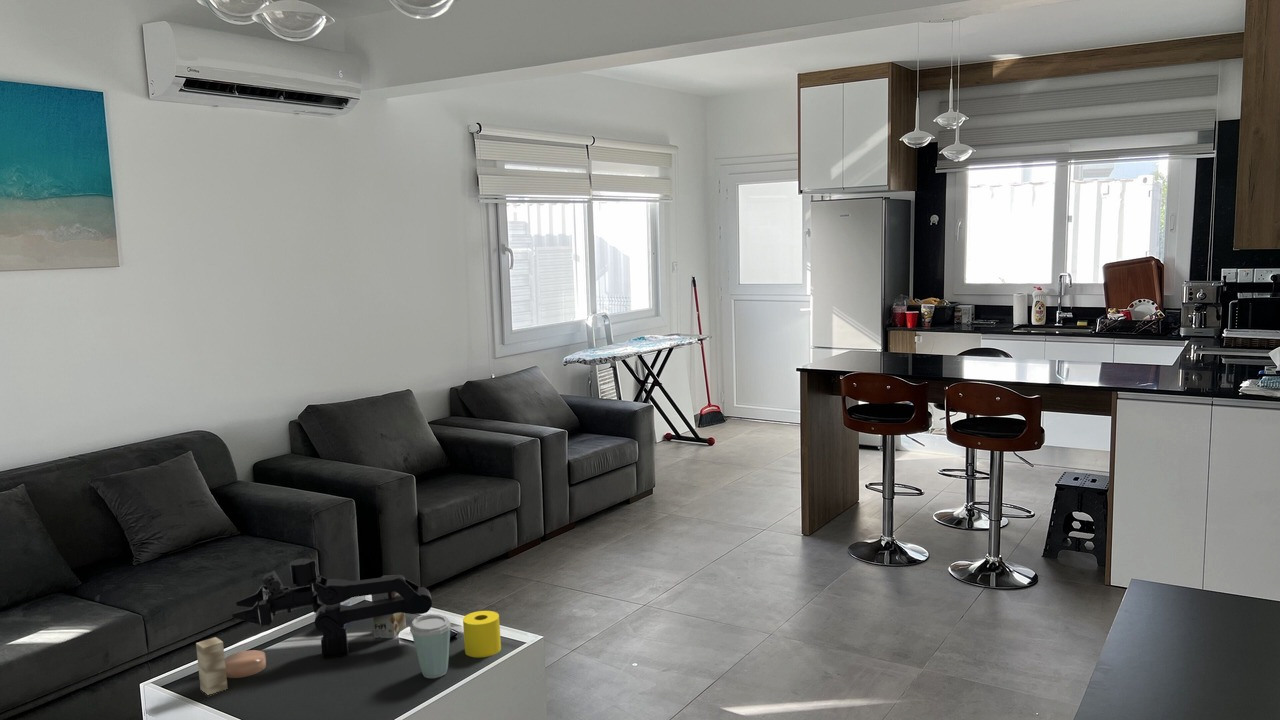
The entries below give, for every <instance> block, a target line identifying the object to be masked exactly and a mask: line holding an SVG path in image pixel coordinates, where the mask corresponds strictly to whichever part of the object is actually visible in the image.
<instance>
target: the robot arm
mask: <svg viewBox="0 0 1280 720" xmlns="http://www.w3.org/2000/svg"><path fill="white" fill-rule="evenodd" d="M289 569H290V574H291V575H290V576H291V582H292V584H293V585H295V586H296V587H293V588H291V587H290V586H288V585H286V586H285V585H283V582H282V580H281V579H280V577H279V575H278V574H277V571H275V570H272V571H270V572H269V573H266V574H265V575H264V574H263V576H262V577H263V578H262V579H261V580H262V581H261V582H262V583H263V584H262V585H261V586H260V587H259V589H258V590H257V591H256V592H254V593H252V594H250V595H248V596H246V597H244V598H241V599H239V600H237V601H236V602H235V603H236V606H237V607H244V608H245V607H246V609H242V610H239V611H236V612H233V613H232V614H231V617H232V619H236V620H239V621H244V622H249V623H253V624H257V625H258V626H261V628H264V627H265V628H266V627H269V626H270V625H271V624H272V622H273V619H274V616H276V615H277V613H282V612H286V611H287V613H288V614H289V613H293V612H292V611H293V610H297V609H302V608H303V609H304V608H308V607H312V609H313V613H314V614H315V617H314V627H315V628H316V630H318V631H319V632H321V633H322V636H321V640H320V645H321V646H320V647H321V654H322V655H323V659H330V658H336V657H337V656H338V657H343V656H342V655H345V656H348V655H349V648H348V647H349V644H348V633H347V632H348V631H347V628H346V625H348V624H349V623H351V622H357V621H363V620H368V619H373V618H374V617H379V616H384V615H389V614H395V613H405V614H408V615H425V614H427V613H428V612H429V611H430V610H431V608H432V606H433V601H432V594H431V592H430V591H429V589H428V588H426V587H424V586H423V587H420V586H419V585H417V584H416V583H415V582H413V581H412V580H409V579H407V578H406V577H404V575H402V574H394V575H395V576H389V575H388V576H389V577H382V576H380V577H377V578H376V577H375V578H367V579H360V580H359V579H358V580H348V579H344V578H343V579H342V578H329V579H328V578H326V577H324V576H323V575H319V574H318V572H317V561H316V559H315V558H314V559H311V558H298V559H295V560H292V561H290V563H289ZM388 592H397V593H398V594H400V595H401V596H398V597H394V598H388V599H383V600H378V601H372V600H371V601H367V602H362V603H361V602H360V603H357V604H351V605H350V606H345V605H340V604H341V602H344V601H346V600H348V599H350V598H351V599H353V598H357V597H365V596H372V595H373V594H381V593H388ZM347 623H348V624H347ZM345 624H346V625H345ZM338 657H337V658H338Z"/></svg>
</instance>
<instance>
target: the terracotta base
mask: <svg viewBox="0 0 1280 720" xmlns="http://www.w3.org/2000/svg"><path fill="white" fill-rule="evenodd" d="M225 667H226V677H227V678H229V679H239V678H240V679H241V678H245V677H246V678H248V677H250V676H253V675H255V674H258V673H261V672H262V671H263V670H264V669H265V668H266V667H267V658H266V653H265V652H264V651H262V650H255V649H253V650H251V649H250V650H242V651H238V652H236V653H233V654H230V655H228V656H226V657H225Z"/></svg>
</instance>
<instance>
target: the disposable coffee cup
mask: <svg viewBox="0 0 1280 720" xmlns="http://www.w3.org/2000/svg"><path fill="white" fill-rule="evenodd" d="M451 627H452V622H451V621H450V619H449V618H447V616H445V615H442V614H439V613H428V614H427V613H425V614H420V616H419V615H418V616H416V617H415V618H414V619H413V620H412V621H411V626H410V627H409V632H410V633H411V636H412V639H413V644H414V647H415V651H416V655H417V659H418V664H419V667H420V671H421V673H422V675H423V677H424V678H427V679H437V678H441V677H443V676H445V675H446V673H447V672H448V669H449V655H450V639H451Z"/></svg>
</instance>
